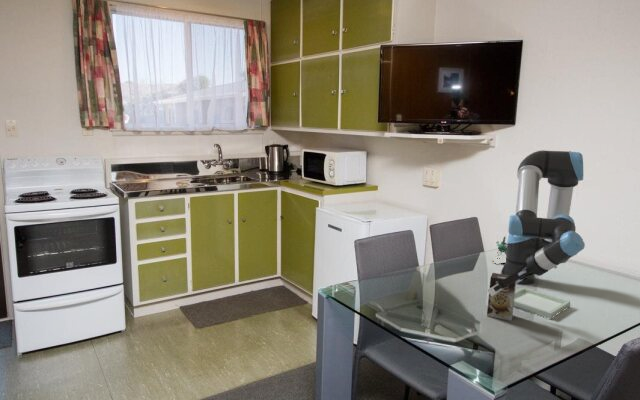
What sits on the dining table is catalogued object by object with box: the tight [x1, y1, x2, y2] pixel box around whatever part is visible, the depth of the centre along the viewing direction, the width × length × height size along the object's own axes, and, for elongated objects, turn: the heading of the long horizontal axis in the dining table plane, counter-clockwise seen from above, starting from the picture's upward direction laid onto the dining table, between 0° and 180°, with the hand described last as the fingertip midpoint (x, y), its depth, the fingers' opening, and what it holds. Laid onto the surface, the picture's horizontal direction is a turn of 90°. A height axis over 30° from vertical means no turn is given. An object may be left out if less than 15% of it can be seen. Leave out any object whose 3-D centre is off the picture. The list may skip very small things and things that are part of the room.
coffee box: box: [486, 272, 517, 322], centre depth 178 cm, size 9×6×16 cm
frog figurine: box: [495, 236, 508, 259], centre depth 245 cm, size 10×18×15 cm, turn 126°
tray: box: [513, 287, 571, 320], centre depth 190 cm, size 20×18×2 cm
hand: (499, 288), depth 179 cm, fingers open, 13 cm apart
